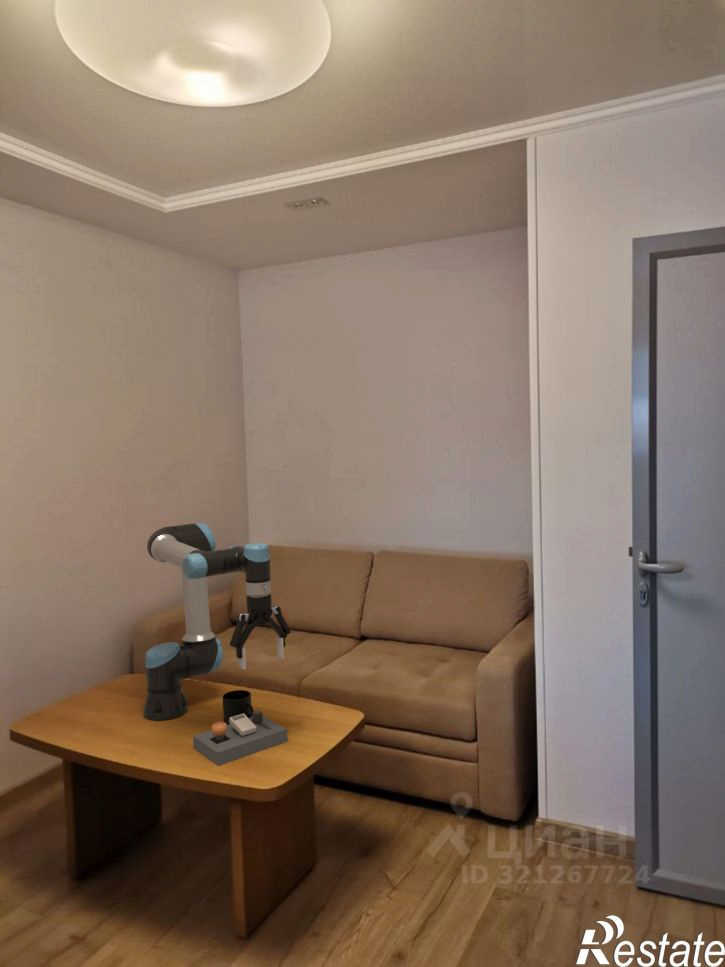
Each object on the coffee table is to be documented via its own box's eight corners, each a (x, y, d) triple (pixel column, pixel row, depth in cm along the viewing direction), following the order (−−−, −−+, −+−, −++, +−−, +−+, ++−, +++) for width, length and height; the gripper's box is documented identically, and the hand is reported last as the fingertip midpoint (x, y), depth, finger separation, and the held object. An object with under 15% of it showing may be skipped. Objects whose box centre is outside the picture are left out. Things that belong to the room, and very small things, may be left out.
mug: (244, 730, 238) (242, 703, 237) (217, 723, 245) (216, 696, 244) (263, 720, 246) (262, 694, 245) (237, 713, 252) (236, 688, 252)
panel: (193, 748, 226) (192, 732, 225) (260, 726, 241) (260, 711, 240) (218, 765, 213) (217, 748, 213) (287, 741, 228) (286, 725, 228)
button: (210, 743, 223) (209, 724, 222) (223, 739, 226) (222, 720, 225) (217, 748, 219) (216, 729, 219) (230, 743, 222) (229, 725, 222)
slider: (252, 721, 234) (252, 712, 234) (258, 719, 236) (258, 710, 236) (256, 723, 232) (255, 714, 232) (262, 721, 234) (262, 712, 234)
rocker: (229, 722, 229) (229, 717, 228) (243, 717, 232) (243, 713, 231) (241, 736, 223) (242, 731, 222) (256, 731, 226) (256, 726, 226)
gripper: (228, 604, 211) (232, 675, 213) (299, 589, 227) (302, 656, 229) (215, 600, 217) (219, 669, 219) (286, 585, 233) (288, 651, 234)
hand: (262, 663), depth 224 cm, fingers open, 13 cm apart
